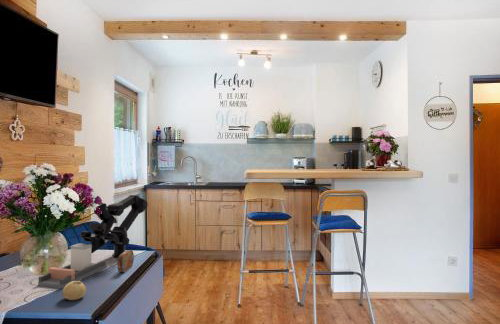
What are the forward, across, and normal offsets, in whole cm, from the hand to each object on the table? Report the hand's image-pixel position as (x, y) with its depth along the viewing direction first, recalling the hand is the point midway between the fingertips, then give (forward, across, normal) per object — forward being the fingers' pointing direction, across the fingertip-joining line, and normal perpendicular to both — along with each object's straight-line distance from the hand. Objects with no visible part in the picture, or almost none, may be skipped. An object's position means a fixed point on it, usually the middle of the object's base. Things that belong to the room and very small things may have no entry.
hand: (91, 252), depth 168 cm
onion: (+28, +17, -17) cm, 37 cm away
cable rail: (+13, 0, -2) cm, 13 cm away
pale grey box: (+9, 0, -1) cm, 9 cm away
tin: (+3, +16, +8) cm, 18 cm away
